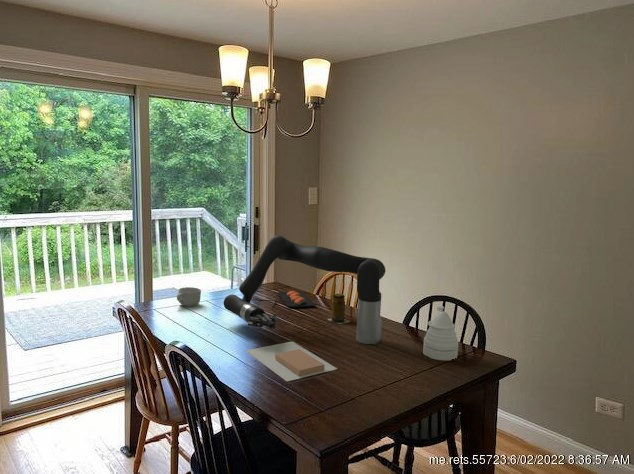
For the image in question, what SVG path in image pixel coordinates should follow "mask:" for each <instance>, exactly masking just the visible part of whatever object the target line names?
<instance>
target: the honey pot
mask: <svg viewBox="0 0 634 474" xmlns="http://www.w3.org/2000/svg"><path fill="white" fill-rule="evenodd" d="M436 309H437V311H438V313H437V314H436V315H435V316H434V318H433V319H432V320H429V321H428V322H427V324H428V326H429V327H428V329H427V330H426V333H425V336H424V337H423V347H422V350H423V351H422V353H423V355H424V356H425V357H427V356H428V358H430V359H433V360H437V361H452V359H454V360H456V359H457V358H458V357H457V356H458V355H459V345H460V344H459V341H458V336H457V332H456V330H455V328H456V324H454V323H453V321H452V318H451V316H450V315H449V314H448V313H447V312H446V311H444V309H445V307H444V306H442V305H437V306H436ZM455 358H456V359H455Z"/></svg>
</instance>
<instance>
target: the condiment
mask: <svg viewBox="0 0 634 474" xmlns="http://www.w3.org/2000/svg"><path fill="white" fill-rule="evenodd" d="M345 299H346V298H345V294H343V293H334V294H333V296H332V300H331V312H330V313H331V316H330V318H327V321H329V322H333V323H335V324H338V325H342V324H348V323H350V322H352V321H350V320H348V319H346V318H345V315H346V314H345V311H346V301H345Z"/></svg>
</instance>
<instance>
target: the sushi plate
mask: <svg viewBox="0 0 634 474" xmlns="http://www.w3.org/2000/svg"><path fill="white" fill-rule="evenodd" d="M277 295H278V296H276V299H275V300H274V299H273V300H272V299H259V298H257V299H256V298H252V299H251V301H259V302H260V301H262V302H274V303H272V306H271V309H270V310H273V309H274V307H275V305H276V302H281V303H284V304H285V305H286V306H287V307H289V308H290V307H291V308H306V307H314V306H315V305H316V304H315V302H314V301H313V300H312V299H311V298H310V297H309V296H308V295H307V294H306V293H305V291H304V292H303V291H300V290H296V291H295V290H289V291H279V292H277ZM279 298H280V299H281V300H278V299H279Z"/></svg>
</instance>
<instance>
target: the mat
mask: <svg viewBox="0 0 634 474" xmlns="http://www.w3.org/2000/svg"><path fill="white" fill-rule="evenodd" d="M298 349H300V350H302V351H303V352H305V353H307V354H308V355H310V356H311V357H313V358H315V359H316V360H318V361H320V362H321V363H323V364H324V370H321V371H317V372H313V373H309V374H304V375H300V376H299V375H297V374H296V373H294V372H293V371H292V370H290V369H289V368H287V367H286V366H284V365H283V364H282V363H280V362H279V361H277V360H276V359H275V354H279V353H283V352H288V351H293V350H298ZM245 351H246V353H248V354H249V355H250V356H252V357H254V359H256V360H258V361H259V363H261V364H263V365H264V366H265V367H267V369H270V370H271V371H272V372H274V374H276V375H278V376H279V377H280V378H282V380H284V381H285V382H289V383H287V385H289V384H293V383H297V382H301V381H307V380H309V379H314V378H319V377H321V376H325V375H331V374H333V373H337V372H338V367H335V366H333V365H332V364H330V363H329V362H327V361H326V360H324V359H322V358H321V357H319V356H317V355H315V354H314V353H312V352H310V350H308V349H306V348H304V347H303V346H301V345H299V344H298V343H296V342H294V341H288V342H282V343H277V344H273V345H268V346H262V347H257V348H252V349H247V350H246V349H245ZM336 370H337V371H336ZM330 371H332V372H330ZM322 373H324V374H322ZM318 374H321V375H318ZM314 375H316V376H314ZM310 376H312V377H310ZM307 377H309V378H307ZM303 378H304V379H303ZM298 379H300V380H298ZM295 380H297V381H295ZM290 381H292V382H290Z"/></svg>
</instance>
